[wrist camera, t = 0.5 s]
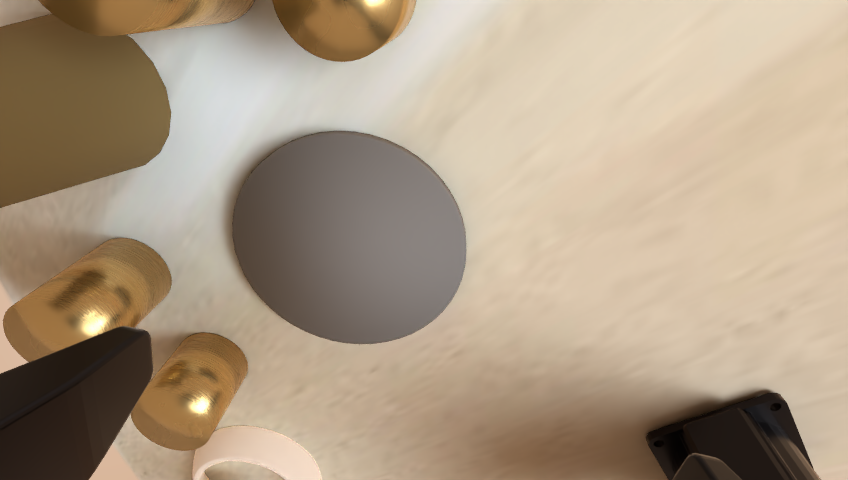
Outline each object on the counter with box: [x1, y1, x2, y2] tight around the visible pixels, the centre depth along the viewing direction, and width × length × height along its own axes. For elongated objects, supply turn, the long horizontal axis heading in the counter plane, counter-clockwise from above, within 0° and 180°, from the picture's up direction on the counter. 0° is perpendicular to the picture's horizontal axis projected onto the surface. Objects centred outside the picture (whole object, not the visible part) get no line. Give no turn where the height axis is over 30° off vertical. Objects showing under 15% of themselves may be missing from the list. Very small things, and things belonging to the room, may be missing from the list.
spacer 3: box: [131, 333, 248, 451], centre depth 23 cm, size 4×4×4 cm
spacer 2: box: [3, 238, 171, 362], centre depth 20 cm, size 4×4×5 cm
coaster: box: [233, 131, 466, 344], centre depth 21 cm, size 10×10×1 cm
